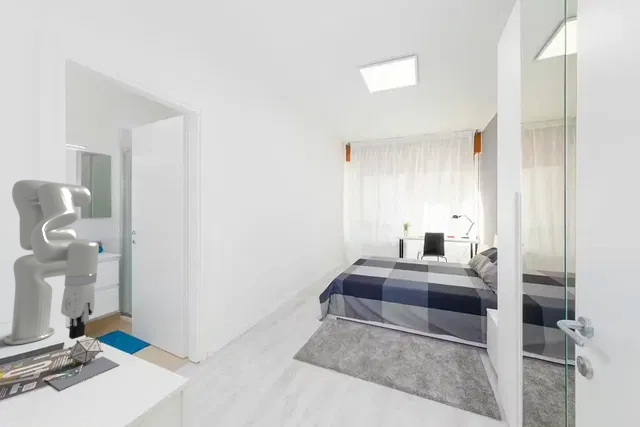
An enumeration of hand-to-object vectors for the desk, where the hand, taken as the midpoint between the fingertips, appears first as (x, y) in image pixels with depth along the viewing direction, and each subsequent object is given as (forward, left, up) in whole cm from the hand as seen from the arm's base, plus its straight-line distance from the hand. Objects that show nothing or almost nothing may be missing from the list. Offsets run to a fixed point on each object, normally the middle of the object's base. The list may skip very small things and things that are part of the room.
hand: (76, 336), depth 81 cm
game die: (-1, 0, -6) cm, 6 cm away
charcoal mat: (+9, -1, -8) cm, 12 cm away
